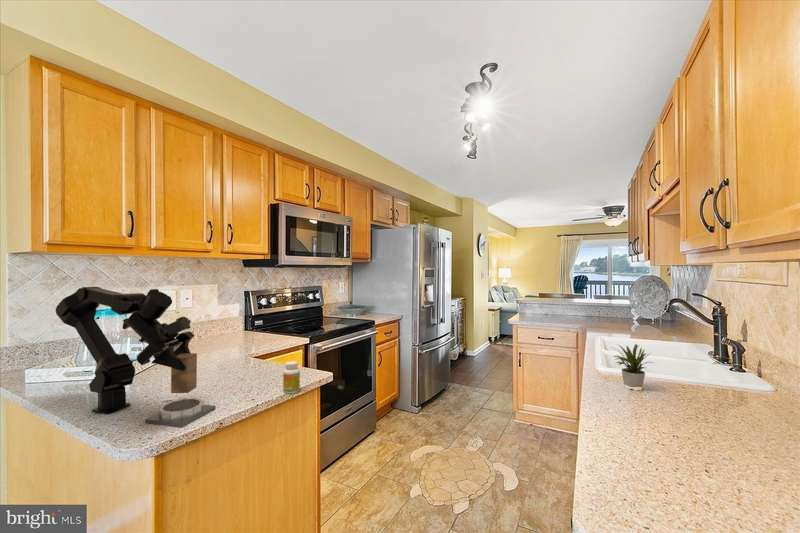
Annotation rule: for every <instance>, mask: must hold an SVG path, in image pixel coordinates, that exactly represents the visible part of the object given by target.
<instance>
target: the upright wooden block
mask: <svg viewBox="0 0 800 533" xmlns="http://www.w3.org/2000/svg"><path fill="white" fill-rule="evenodd" d="M176 356H177V357H178V358H179V360H180V361H181V362H182V363H183V364H184V366H185V367H186V369H185V370H184V371H181V370H178V369H174V368H171V367H170V370H171V371H170V393H171V394H189V393H191V391H193V390H195V389H196V388H197V377H198V376H197V374H198V373H197V372H198V370H197V369H198V367H197V366H198V364H197V363H198V353H193V352H192V353H191V352H190V353H181V354H178V355H176Z"/></svg>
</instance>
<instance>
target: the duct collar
mask: <svg viewBox="0 0 800 533" xmlns="http://www.w3.org/2000/svg"><path fill="white" fill-rule="evenodd" d="M216 407H217V406H216V405H212V404H205V402H204V400H203V399H202V398H199V397H198V398H197V397H188V398H187V397H186V398H180V399H175V400H172V401H169V402H167V403H164V404H162V405H161V406H160V407H159V409H158V412H157V413H155V414H152V415H150V416H148V417H146V418H145V419H144V423H146V424H152V425H153V424H154V425H159V424H160V426H168V427H175V428H183V427H186V426H187V425H189V424H191V423H193V422H195V421H197V420H198V419H200V418H202V417H204V416H205V415H207V414H209V413H211V412H213V411H215V410H216Z"/></svg>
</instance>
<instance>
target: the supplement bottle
mask: <svg viewBox="0 0 800 533" xmlns="http://www.w3.org/2000/svg"><path fill="white" fill-rule="evenodd" d="M298 364H299V363H298V361H293V360H292V361H291V360H290V361H287V362H285V369H284V370H283V373H282V374H283V378H282V379H283V382H282V384H283V385H282V390H283V391H282V392H284V393H285V394H295V393H298V392H299V391H300V386H301V384H300V382H301V381H300V380H301V379H300V378H301V377H300V375H301V373H300V372H301V371H300V368H298V367H299V366H298Z"/></svg>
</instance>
